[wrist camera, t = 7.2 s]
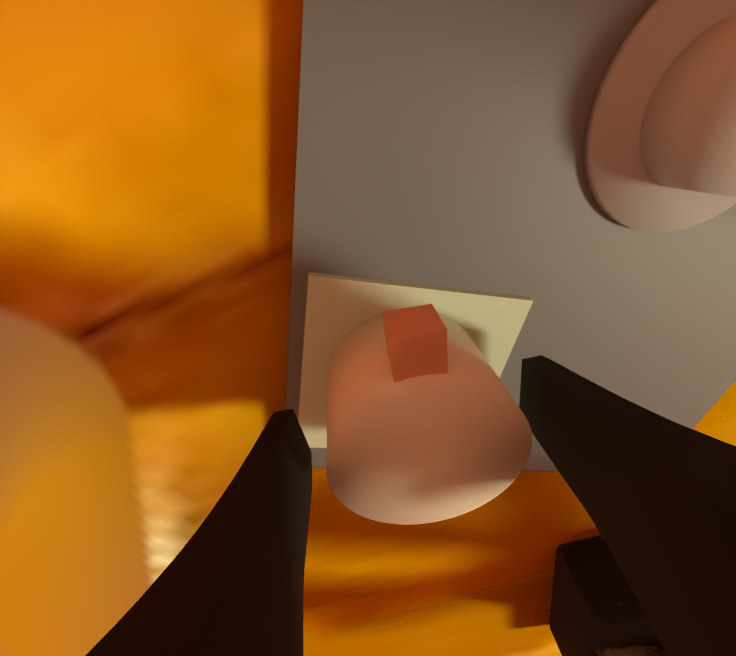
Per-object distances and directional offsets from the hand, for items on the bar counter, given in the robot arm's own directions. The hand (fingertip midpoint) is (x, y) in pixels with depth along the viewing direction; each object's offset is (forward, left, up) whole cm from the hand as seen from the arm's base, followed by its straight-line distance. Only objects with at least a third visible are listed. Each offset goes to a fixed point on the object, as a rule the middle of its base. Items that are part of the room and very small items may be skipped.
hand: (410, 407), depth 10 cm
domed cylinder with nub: (0, 0, -1) cm, 1 cm away
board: (-5, -3, -2) cm, 6 cm away
